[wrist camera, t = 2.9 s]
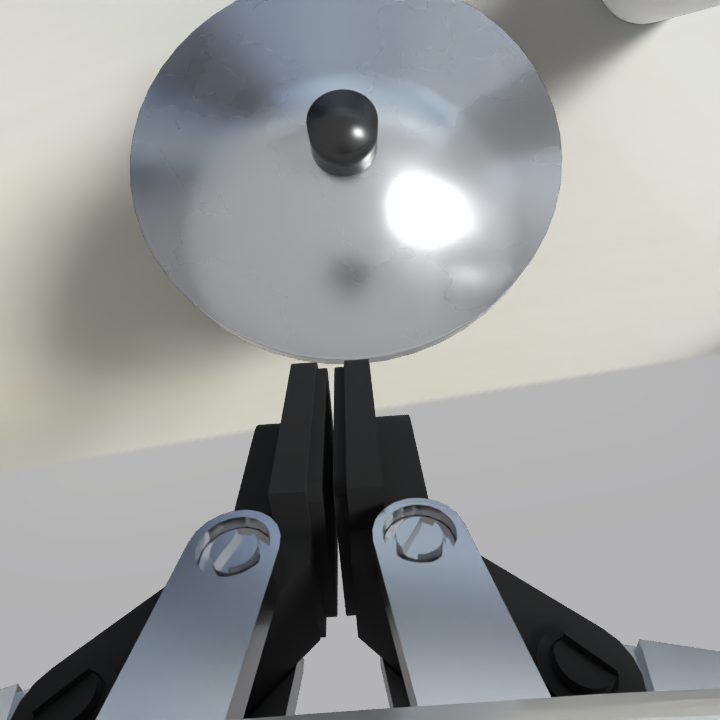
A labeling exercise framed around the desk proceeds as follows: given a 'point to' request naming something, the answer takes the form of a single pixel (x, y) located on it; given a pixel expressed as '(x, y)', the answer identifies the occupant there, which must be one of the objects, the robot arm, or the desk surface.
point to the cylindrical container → (655, 9)
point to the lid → (345, 172)
